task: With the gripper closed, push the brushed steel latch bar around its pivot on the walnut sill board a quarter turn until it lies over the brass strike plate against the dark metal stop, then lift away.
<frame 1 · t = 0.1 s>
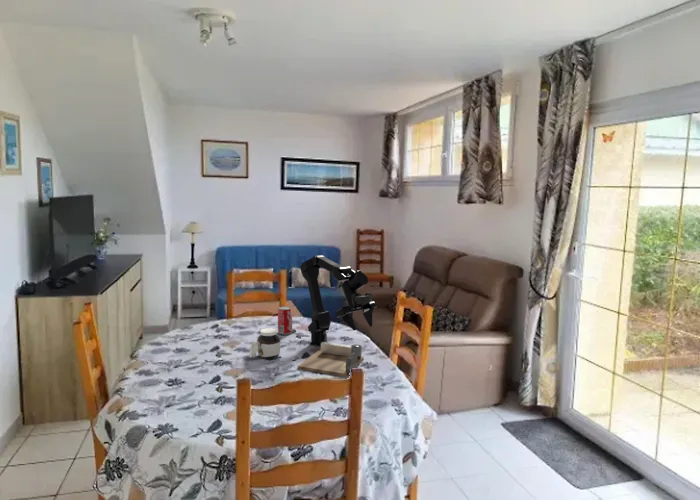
hand: (363, 328, 208), 15 cm above the table, tool tilted 30°, fingers open, 9 cm apart
soda can: (285, 333, 248), on the table
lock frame: (331, 363, 207), on the table
latch bar: (341, 349, 214), point 4 cm above the table, hinge at 0.0°
spread jar: (263, 357, 214), on the table
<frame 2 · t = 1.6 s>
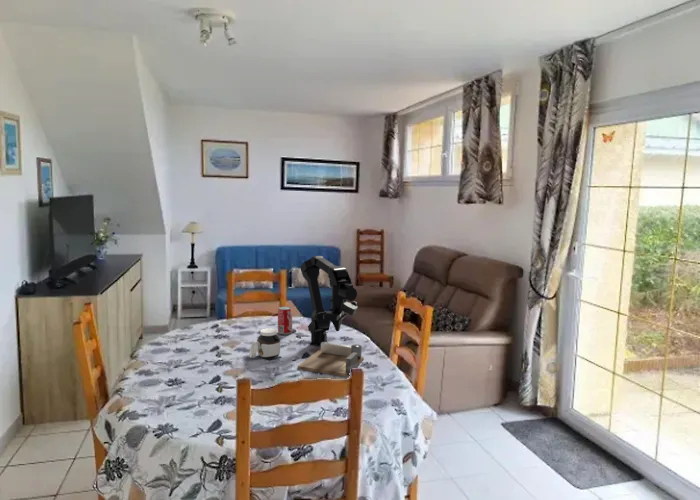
hand: (337, 331, 218), 10 cm above the table, tool pointing down, fingers closed
nothing on the table moved.
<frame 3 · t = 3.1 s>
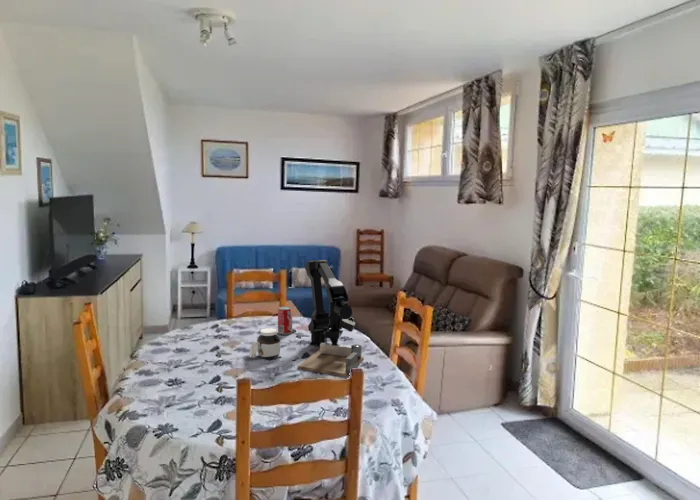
hand: (335, 347, 217), 4 cm above the table, tool pointing down, fingers closed
latch bar: (340, 349, 213), point 4 cm above the table, hinge at 4.3°, touching gripper
everything else where it was.
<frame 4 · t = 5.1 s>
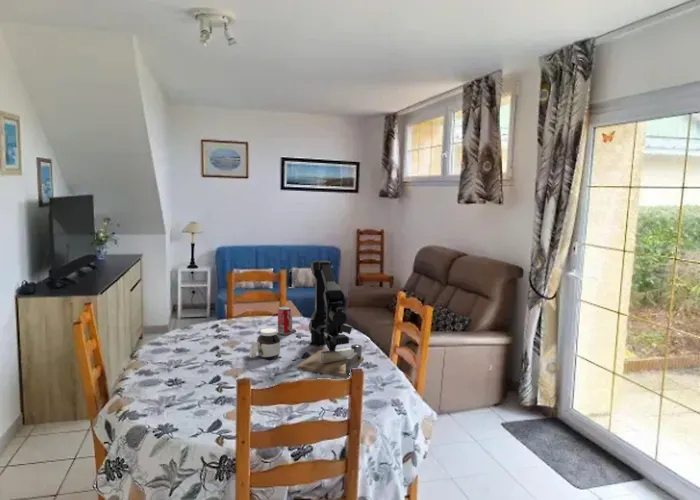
hand: (332, 354, 209), 4 cm above the table, tool pointing down, fingers closed
latch bar: (341, 353, 208), point 4 cm above the table, hinge at 49.2°, touching gripper
everything else where it was.
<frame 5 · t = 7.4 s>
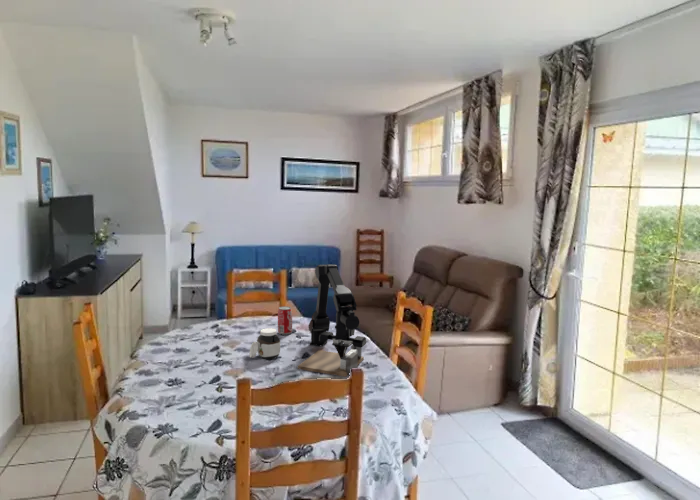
hand: (342, 359, 202), 4 cm above the table, tool pointing down, fingers closed
latch bar: (350, 356, 205), point 4 cm above the table, hinge at 91.2°, touching gripper
everything else where it was.
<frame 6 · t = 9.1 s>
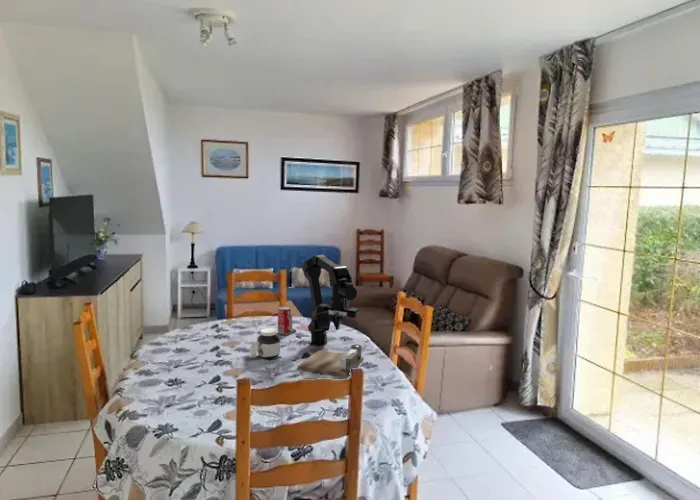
hand: (337, 329, 217), 11 cm above the table, tool pointing down, fingers closed
latch bar: (350, 356, 205), point 4 cm above the table, hinge at 91.3°
everything else where it was.
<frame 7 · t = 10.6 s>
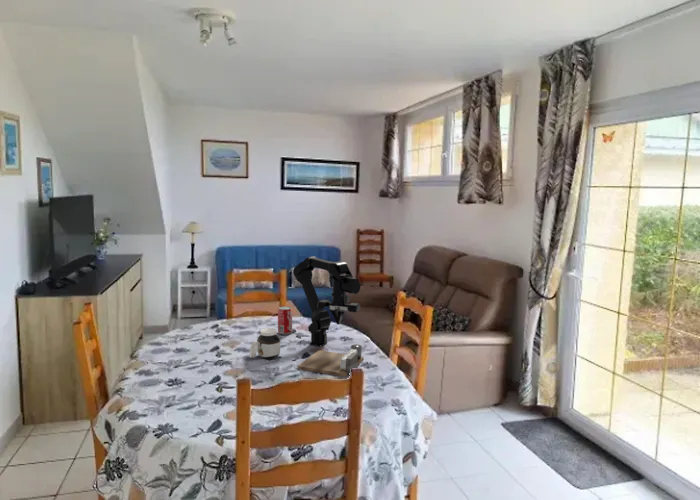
hand: (338, 324, 223), 12 cm above the table, tool pointing down, fingers closed
nothing on the table moved.
at the end: latch bar at +91° (first picture: +0°) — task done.
